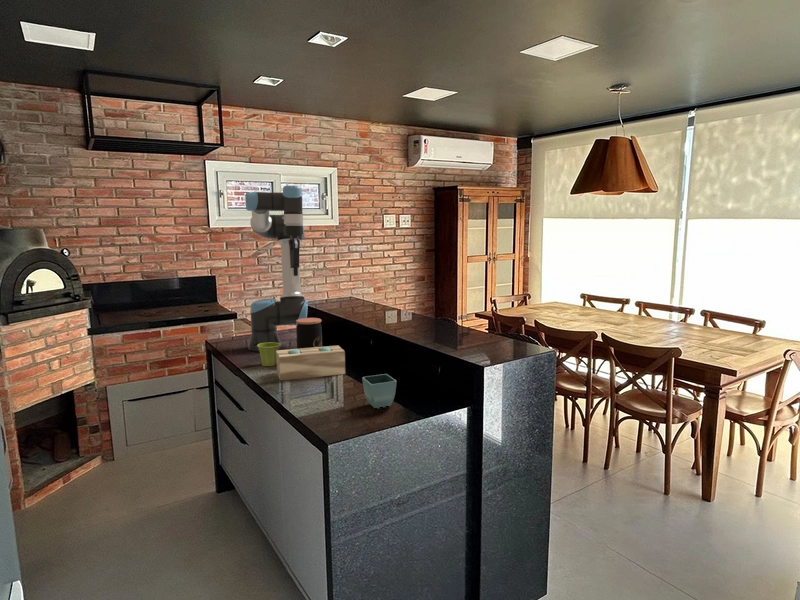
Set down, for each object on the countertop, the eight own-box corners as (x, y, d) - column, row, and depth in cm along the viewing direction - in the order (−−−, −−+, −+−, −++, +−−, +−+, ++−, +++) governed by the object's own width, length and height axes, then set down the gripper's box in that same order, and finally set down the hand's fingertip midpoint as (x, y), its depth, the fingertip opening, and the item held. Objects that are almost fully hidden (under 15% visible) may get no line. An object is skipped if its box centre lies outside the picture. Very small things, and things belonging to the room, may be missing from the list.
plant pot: (272, 360, 221) (271, 341, 220) (285, 364, 215) (284, 344, 214) (253, 365, 214) (252, 345, 213) (267, 369, 208) (266, 348, 207)
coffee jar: (317, 364, 214) (316, 322, 212) (293, 363, 216) (292, 321, 214) (326, 358, 225) (325, 318, 222) (303, 357, 227) (301, 317, 224)
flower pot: (371, 412, 159) (371, 384, 158) (361, 403, 167) (361, 376, 166) (397, 408, 162) (397, 380, 161) (386, 399, 170) (386, 373, 169)
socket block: (277, 372, 203) (276, 350, 201) (338, 366, 211) (338, 345, 210) (280, 380, 192) (279, 357, 191) (345, 373, 201) (344, 351, 200)
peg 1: (289, 370, 201) (288, 350, 200) (299, 369, 202) (299, 349, 201) (291, 372, 197) (290, 352, 196) (301, 371, 198) (300, 351, 197)
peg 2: (319, 367, 205) (319, 347, 204) (329, 366, 206) (329, 346, 205) (321, 369, 201) (321, 349, 200) (331, 368, 202) (331, 349, 201)
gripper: (281, 225, 210) (284, 282, 213) (286, 225, 197) (288, 285, 201) (300, 225, 212) (302, 281, 215) (305, 225, 200) (307, 285, 203)
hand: (295, 283), depth 208 cm, fingers closed
